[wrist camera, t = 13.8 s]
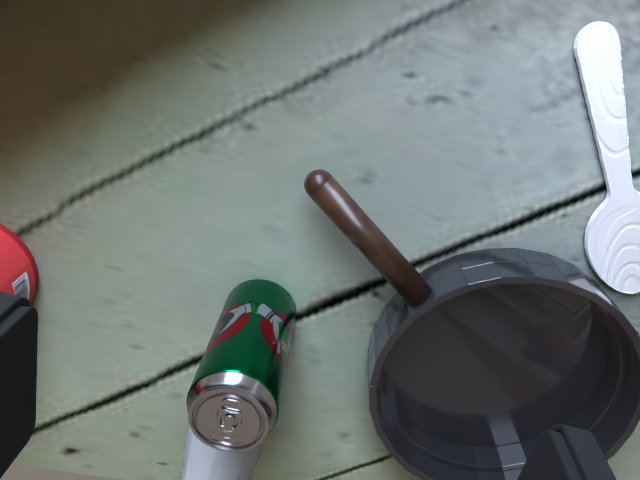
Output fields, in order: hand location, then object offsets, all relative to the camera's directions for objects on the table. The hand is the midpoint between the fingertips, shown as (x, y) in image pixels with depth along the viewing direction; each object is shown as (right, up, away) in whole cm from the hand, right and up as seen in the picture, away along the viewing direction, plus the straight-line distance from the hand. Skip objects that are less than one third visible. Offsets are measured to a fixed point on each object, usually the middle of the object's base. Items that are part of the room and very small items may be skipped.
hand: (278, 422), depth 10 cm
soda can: (-3, -1, +31) cm, 31 cm away
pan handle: (+4, +4, +25) cm, 26 cm away
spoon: (+19, +8, +25) cm, 32 cm away
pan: (+13, -5, +31) cm, 34 cm away
